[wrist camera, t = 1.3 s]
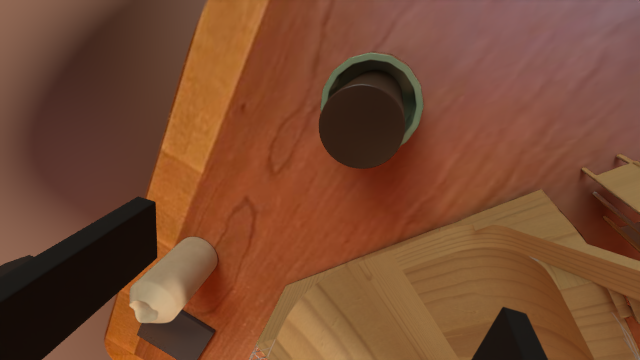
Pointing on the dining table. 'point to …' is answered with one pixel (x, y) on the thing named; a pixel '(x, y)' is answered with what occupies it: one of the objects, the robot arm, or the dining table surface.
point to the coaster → (178, 336)
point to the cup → (386, 64)
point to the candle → (172, 281)
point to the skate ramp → (472, 289)
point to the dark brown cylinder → (364, 120)
